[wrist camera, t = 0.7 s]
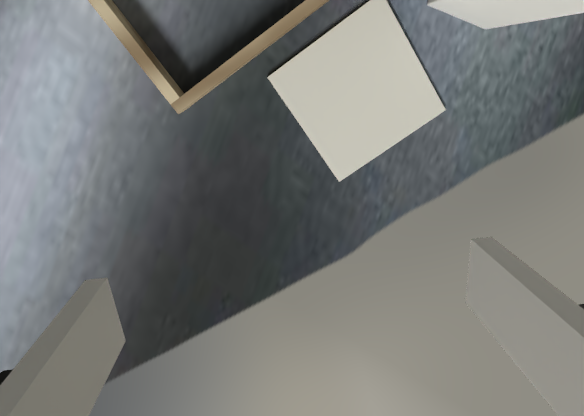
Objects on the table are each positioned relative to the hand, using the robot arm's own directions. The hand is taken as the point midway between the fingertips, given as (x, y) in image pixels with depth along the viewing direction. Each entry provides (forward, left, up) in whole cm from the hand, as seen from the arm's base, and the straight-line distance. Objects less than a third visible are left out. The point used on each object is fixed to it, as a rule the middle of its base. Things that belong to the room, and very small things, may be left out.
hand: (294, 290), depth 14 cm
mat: (0, +9, -25) cm, 27 cm away
